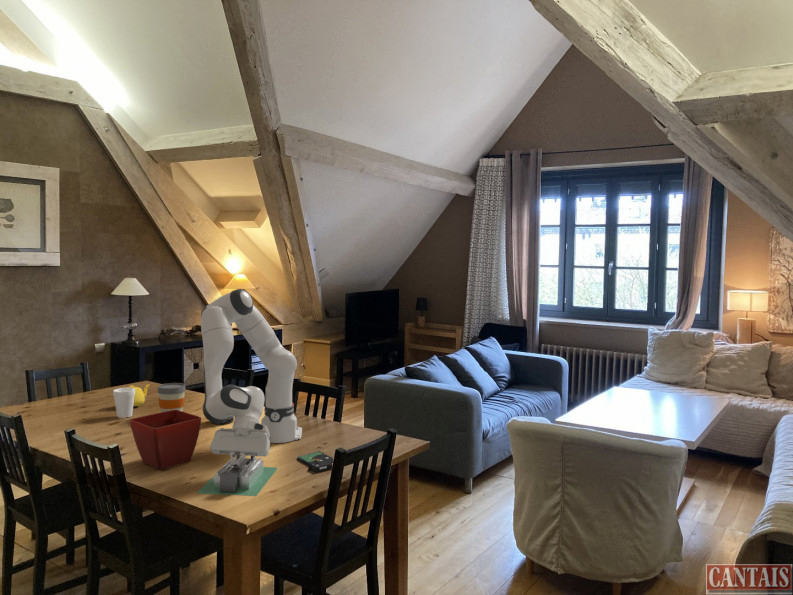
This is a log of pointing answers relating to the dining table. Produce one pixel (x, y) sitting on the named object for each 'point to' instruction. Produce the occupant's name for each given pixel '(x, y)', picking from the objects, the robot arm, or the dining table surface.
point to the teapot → (139, 395)
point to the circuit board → (253, 491)
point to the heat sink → (238, 476)
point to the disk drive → (317, 461)
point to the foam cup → (124, 401)
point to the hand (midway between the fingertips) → (234, 465)
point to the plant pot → (166, 437)
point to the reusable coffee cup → (171, 396)
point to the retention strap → (242, 466)
